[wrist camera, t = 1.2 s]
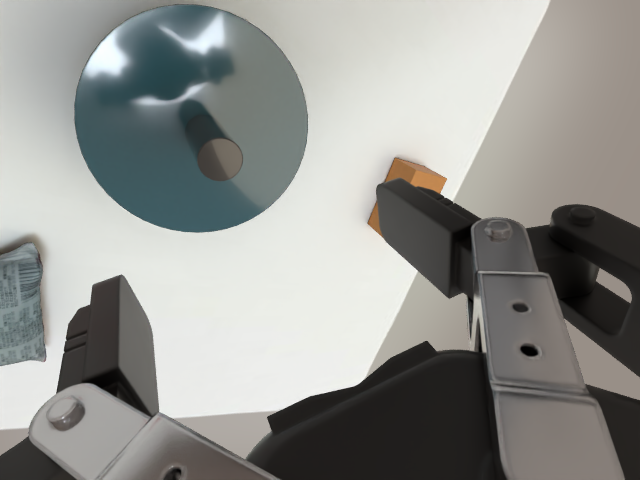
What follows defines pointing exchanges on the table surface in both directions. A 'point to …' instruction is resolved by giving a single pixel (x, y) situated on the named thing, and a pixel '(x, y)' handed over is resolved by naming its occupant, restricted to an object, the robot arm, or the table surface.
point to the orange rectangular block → (414, 176)
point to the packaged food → (21, 306)
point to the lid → (191, 118)
